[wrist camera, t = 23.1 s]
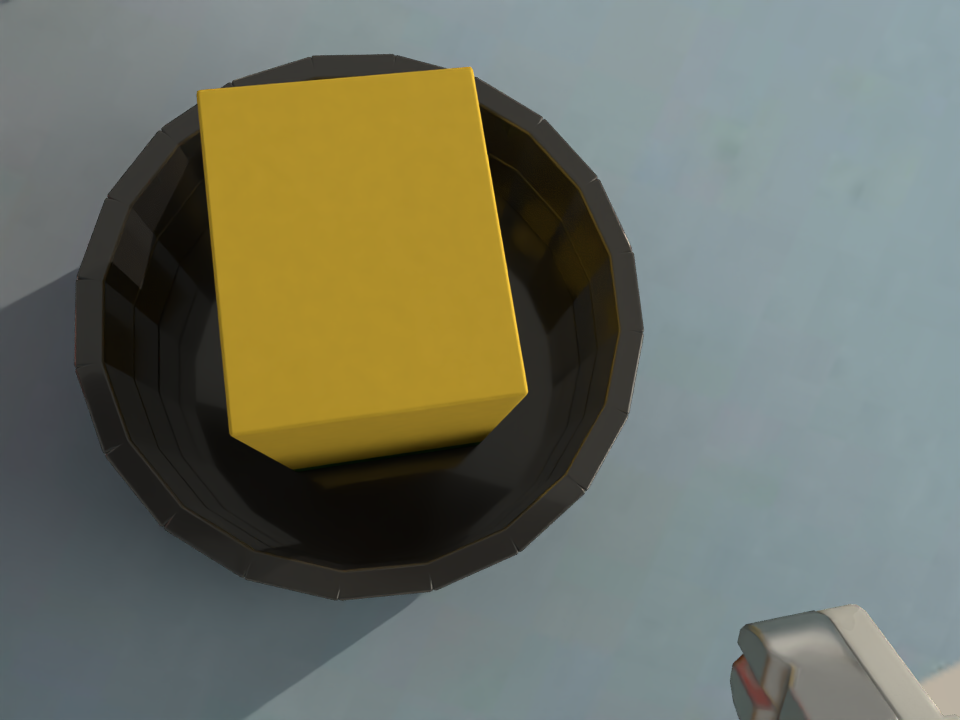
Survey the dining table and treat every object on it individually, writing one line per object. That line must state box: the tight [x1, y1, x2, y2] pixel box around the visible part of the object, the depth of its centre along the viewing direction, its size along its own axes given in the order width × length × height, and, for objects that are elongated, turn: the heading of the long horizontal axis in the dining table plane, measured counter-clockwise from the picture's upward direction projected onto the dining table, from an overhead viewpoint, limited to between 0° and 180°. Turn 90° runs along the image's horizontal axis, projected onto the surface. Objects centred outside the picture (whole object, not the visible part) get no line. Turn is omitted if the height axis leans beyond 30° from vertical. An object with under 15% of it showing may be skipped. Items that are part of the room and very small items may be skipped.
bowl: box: [74, 54, 644, 601], centre depth 19 cm, size 12×12×4 cm
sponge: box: [197, 67, 528, 472], centre depth 17 cm, size 6×5×8 cm
